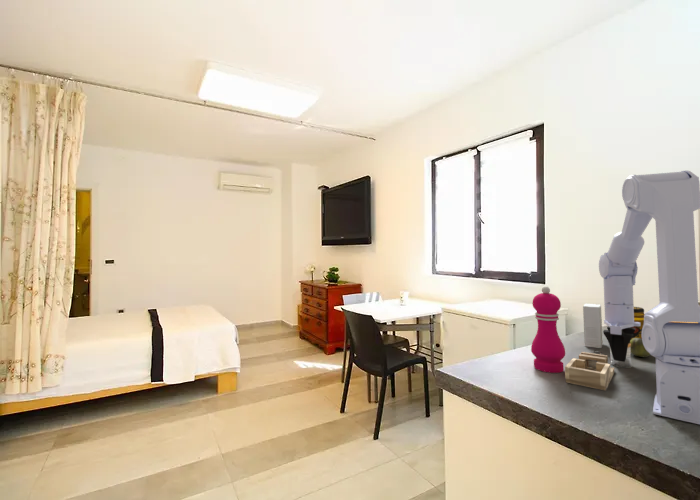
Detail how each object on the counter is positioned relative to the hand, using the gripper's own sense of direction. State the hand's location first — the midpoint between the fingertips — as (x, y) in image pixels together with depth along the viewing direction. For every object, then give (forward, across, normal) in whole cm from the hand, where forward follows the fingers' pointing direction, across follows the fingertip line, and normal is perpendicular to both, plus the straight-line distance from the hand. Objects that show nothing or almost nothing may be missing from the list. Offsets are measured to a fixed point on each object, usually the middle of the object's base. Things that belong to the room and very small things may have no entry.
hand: (620, 358), depth 85 cm
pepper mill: (+2, -14, +13) cm, 19 cm away
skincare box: (+2, +17, +8) cm, 19 cm away
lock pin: (0, -8, +4) cm, 9 cm away
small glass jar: (+2, 0, 0) cm, 2 cm away
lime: (+2, +11, -3) cm, 12 cm away
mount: (+2, -14, +4) cm, 15 cm away
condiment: (+2, +19, -1) cm, 19 cm away
